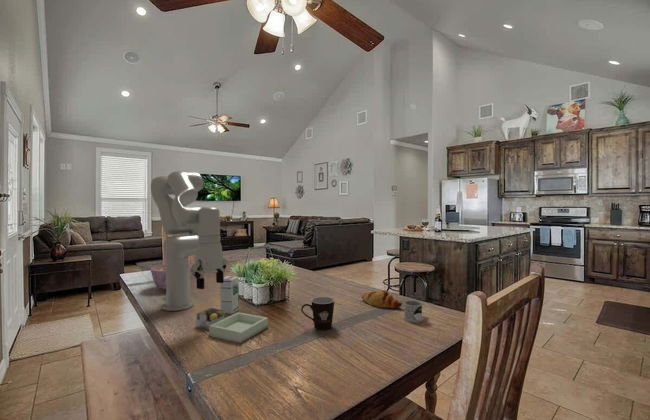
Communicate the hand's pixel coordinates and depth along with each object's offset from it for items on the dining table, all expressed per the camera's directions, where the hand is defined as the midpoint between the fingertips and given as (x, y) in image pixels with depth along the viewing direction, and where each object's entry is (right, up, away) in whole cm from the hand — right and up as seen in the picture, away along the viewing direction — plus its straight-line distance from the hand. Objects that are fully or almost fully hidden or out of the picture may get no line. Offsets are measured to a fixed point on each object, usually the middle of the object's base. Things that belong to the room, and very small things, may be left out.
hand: (210, 285), depth 120 cm
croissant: (+68, -15, +25) cm, 74 cm away
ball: (0, -14, +2) cm, 14 cm away
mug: (+79, -15, +7) cm, 80 cm away
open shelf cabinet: (0, -15, +1) cm, 15 cm away
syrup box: (+2, -15, +16) cm, 22 cm away
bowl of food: (-40, -14, +53) cm, 68 cm away
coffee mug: (+41, -15, -1) cm, 44 cm away
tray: (+12, -15, -5) cm, 20 cm away
